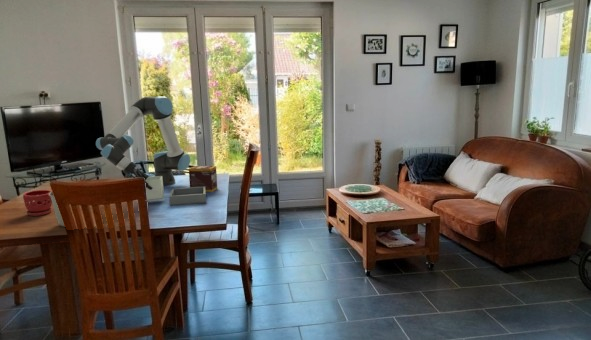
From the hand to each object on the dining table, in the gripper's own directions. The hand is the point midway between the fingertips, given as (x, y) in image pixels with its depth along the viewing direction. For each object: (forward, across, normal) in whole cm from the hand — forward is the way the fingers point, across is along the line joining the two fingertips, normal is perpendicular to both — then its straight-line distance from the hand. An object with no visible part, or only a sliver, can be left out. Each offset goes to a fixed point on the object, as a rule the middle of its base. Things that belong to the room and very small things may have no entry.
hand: (157, 190), depth 230 cm
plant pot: (-38, +6, -48) cm, 61 cm away
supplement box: (+24, -24, +13) cm, 36 cm away
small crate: (+1, 0, -5) cm, 5 cm away
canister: (-21, +31, -31) cm, 48 cm away
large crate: (+17, +1, +7) cm, 19 cm away
